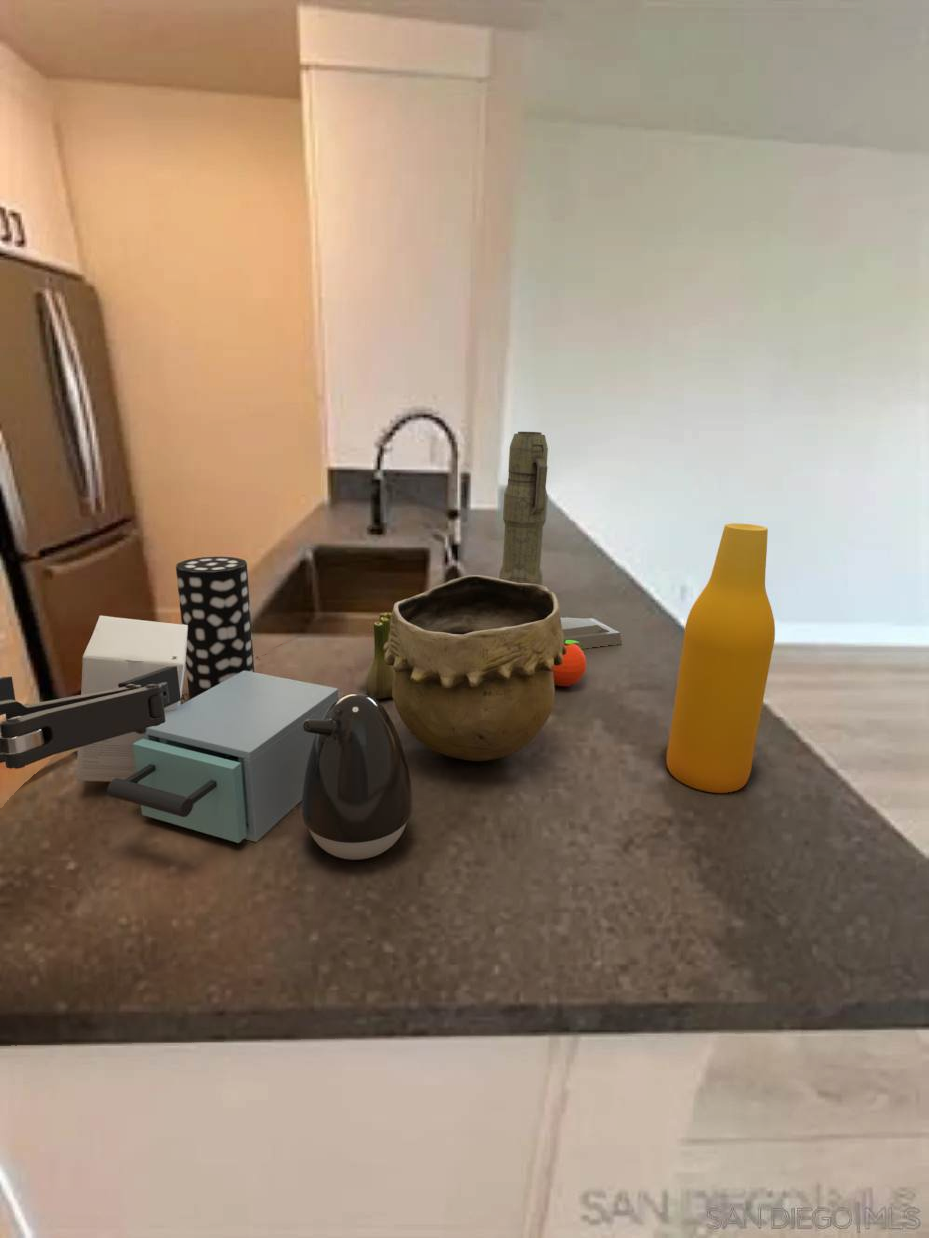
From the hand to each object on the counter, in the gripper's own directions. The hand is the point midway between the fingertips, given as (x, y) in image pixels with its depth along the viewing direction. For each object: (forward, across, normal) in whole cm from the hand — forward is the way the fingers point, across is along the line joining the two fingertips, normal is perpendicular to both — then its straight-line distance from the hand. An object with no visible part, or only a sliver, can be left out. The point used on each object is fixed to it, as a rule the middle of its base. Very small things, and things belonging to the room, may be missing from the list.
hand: (91, 688), depth 53 cm
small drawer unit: (+19, +4, -15) cm, 24 cm away
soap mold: (+71, +40, -9) cm, 82 cm away
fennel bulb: (+44, +13, -11) cm, 47 cm away
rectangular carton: (+19, -10, -11) cm, 25 cm away
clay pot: (+30, +27, -16) cm, 43 cm away
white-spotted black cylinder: (+36, -6, -10) cm, 38 cm away
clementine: (+52, +40, -13) cm, 67 cm away
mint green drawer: (+14, +3, -15) cm, 21 cm away
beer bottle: (+29, +54, -20) cm, 64 cm away
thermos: (+94, +34, -4) cm, 99 cm away
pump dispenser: (+11, +17, -18) cm, 27 cm away
